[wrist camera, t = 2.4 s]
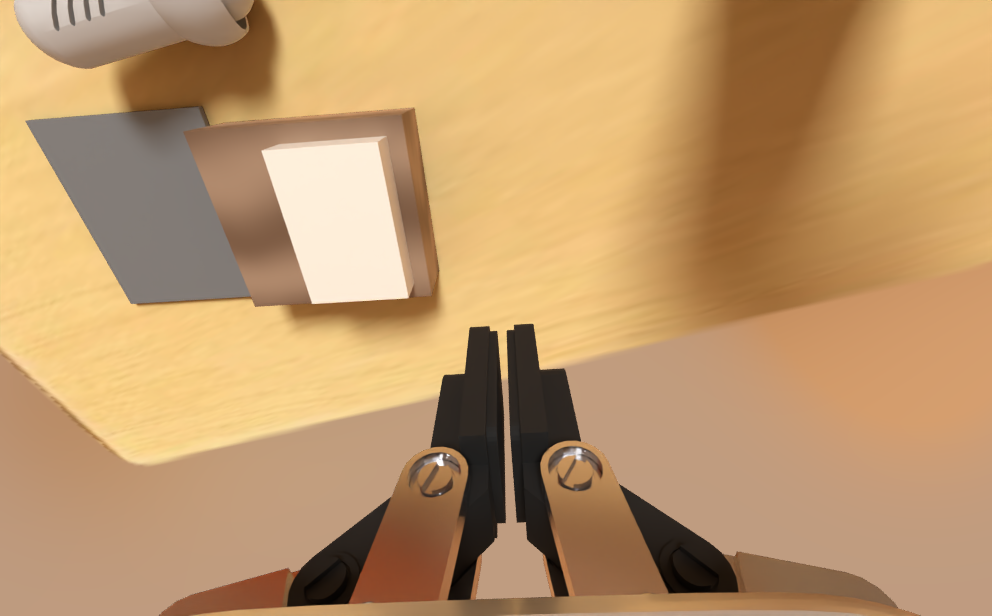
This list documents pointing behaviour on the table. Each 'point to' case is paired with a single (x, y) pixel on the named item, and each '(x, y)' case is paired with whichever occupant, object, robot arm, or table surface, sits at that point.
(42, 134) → the mat
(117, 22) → the clip-on lamp
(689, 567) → the robot arm
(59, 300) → the table surface
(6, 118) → the table surface
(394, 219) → the tile
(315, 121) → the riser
